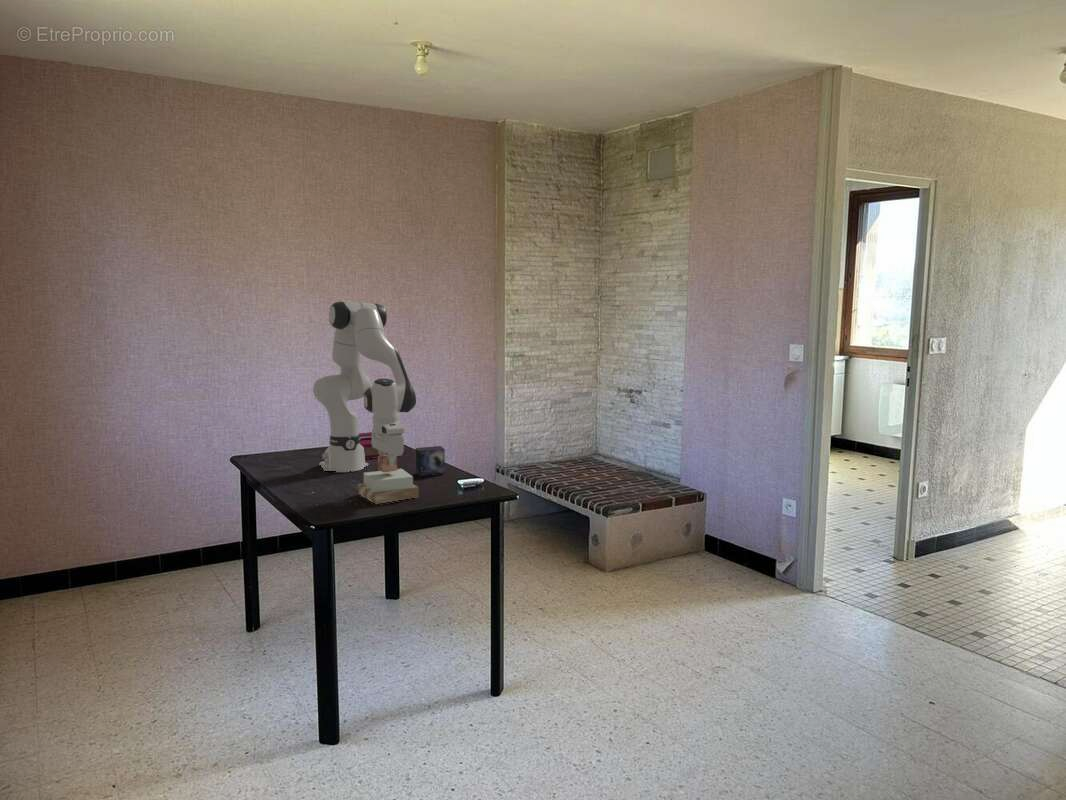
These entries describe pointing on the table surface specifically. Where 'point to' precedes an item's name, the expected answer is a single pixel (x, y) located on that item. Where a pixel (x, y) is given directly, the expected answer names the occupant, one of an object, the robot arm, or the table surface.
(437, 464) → the small box
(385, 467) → the terracotta cube
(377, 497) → the birch slab
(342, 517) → the table surface
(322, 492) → the table surface
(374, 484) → the sage block
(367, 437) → the book
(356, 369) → the robot arm
